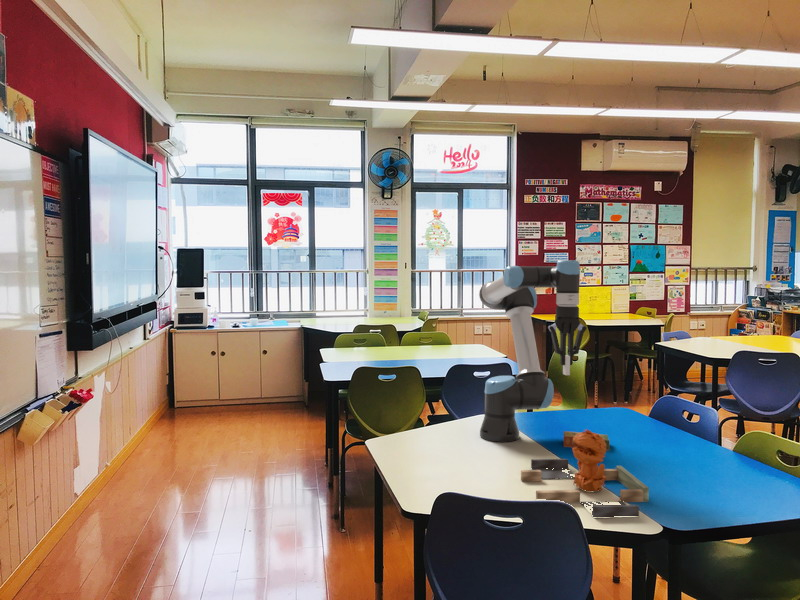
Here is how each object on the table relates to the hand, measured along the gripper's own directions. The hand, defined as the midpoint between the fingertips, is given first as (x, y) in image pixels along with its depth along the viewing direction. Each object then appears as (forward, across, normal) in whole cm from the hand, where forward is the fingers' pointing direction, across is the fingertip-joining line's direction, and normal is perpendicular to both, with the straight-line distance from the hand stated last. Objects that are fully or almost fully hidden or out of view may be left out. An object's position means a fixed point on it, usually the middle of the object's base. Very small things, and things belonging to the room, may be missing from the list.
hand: (566, 374), depth 192 cm
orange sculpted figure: (+30, -2, -26) cm, 40 cm away
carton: (+30, +13, +15) cm, 36 cm away
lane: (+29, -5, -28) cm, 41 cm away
